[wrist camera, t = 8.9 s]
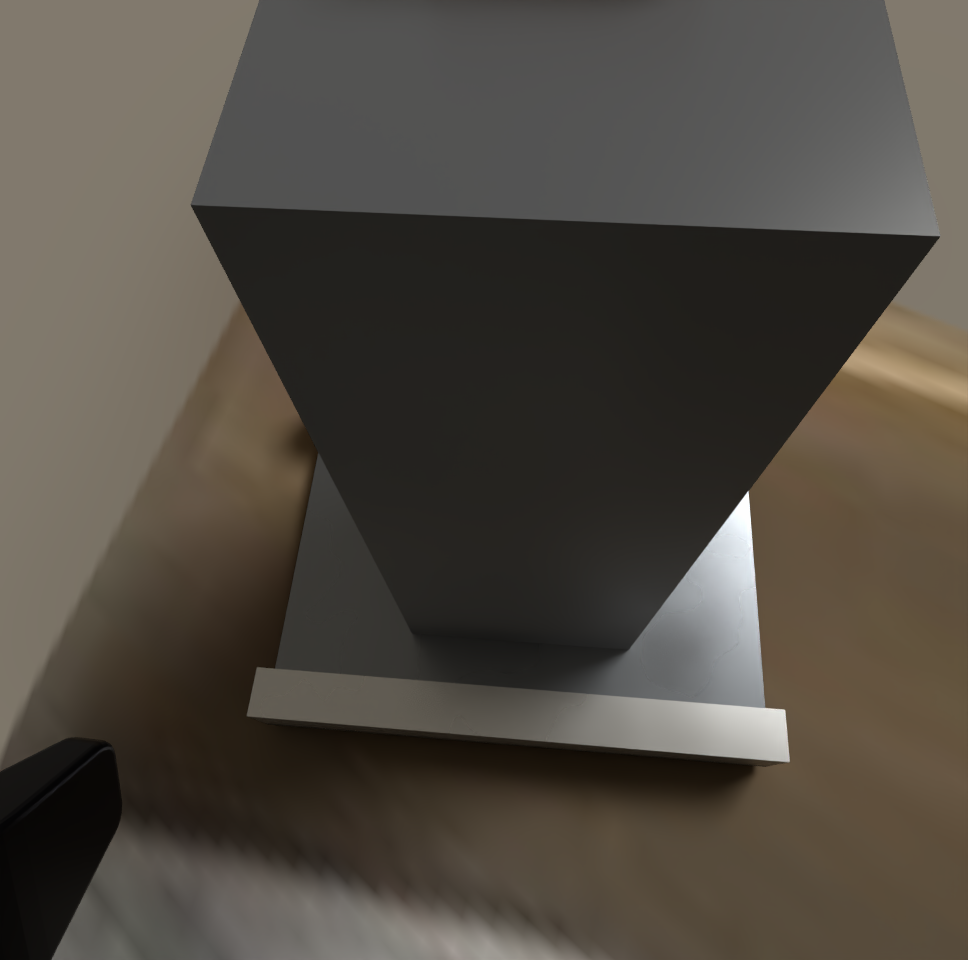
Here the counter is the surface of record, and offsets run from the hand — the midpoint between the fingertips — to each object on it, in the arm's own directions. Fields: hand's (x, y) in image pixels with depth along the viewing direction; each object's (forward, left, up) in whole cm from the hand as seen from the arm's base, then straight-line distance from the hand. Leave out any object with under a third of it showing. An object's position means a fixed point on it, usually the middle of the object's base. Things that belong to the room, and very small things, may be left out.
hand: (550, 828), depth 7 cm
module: (+6, 0, -9) cm, 11 cm away
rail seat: (+6, 0, -9) cm, 11 cm away
